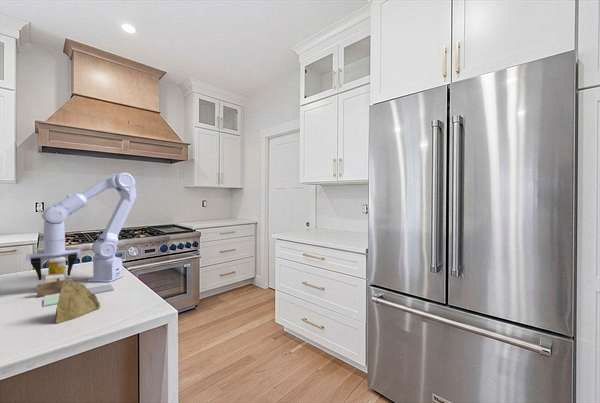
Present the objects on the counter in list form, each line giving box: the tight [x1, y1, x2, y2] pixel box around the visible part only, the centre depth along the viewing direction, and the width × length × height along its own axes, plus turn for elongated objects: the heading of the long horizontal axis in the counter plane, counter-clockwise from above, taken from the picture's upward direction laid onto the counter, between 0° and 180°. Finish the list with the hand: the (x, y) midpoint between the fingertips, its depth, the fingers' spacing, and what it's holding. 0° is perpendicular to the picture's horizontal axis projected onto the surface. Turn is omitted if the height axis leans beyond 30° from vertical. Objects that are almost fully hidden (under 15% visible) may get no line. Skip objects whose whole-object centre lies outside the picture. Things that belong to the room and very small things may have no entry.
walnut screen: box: [36, 278, 73, 298], centre depth 94 cm, size 9×3×4 cm, turn 132°
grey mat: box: [86, 283, 114, 295], centre depth 98 cm, size 7×7×1 cm
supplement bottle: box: [47, 255, 67, 276], centre depth 113 cm, size 5×5×10 cm
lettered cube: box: [45, 273, 66, 283], centre depth 98 cm, size 5×5×5 cm
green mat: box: [43, 295, 59, 307], centre depth 88 cm, size 7×7×1 cm
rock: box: [54, 280, 101, 325], centre depth 78 cm, size 11×9×10 cm
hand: (54, 277), depth 98 cm, fingers open, 7 cm apart
